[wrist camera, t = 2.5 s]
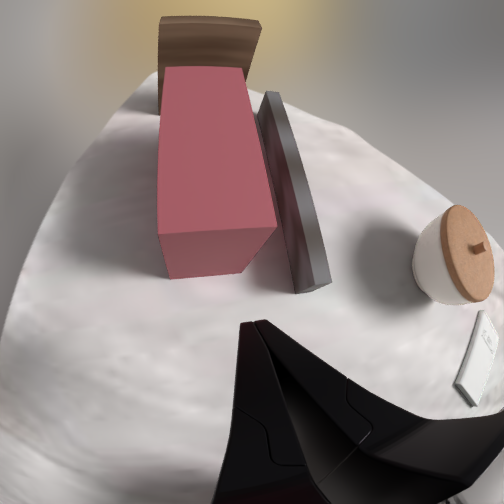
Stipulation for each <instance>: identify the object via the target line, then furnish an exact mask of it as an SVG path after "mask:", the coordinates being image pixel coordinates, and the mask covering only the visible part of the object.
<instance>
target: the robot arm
mask: <svg viewBox="0 0 504 504" xmlns="http://www.w3.org/2000/svg"><path fill="white" fill-rule="evenodd" d="M211 504H504V407H503V408H502V409H501V410H500V411H499V412H498V413H496V414H493V415H488V416H481V417H472V418H462V419H447V420H432V419H426V418H423V417H420V416H417V415H415V414H413V413H411V412H408V411H406V410H404V409H402V408H400V407H398V406H396V405H394V404H392V403H390V402H388V401H386V400H384V399H382V398H380V397H378V396H376V395H375V394H373V393H371V392H369V391H368V390H366V389H365V388H363V387H361V386H360V385H358V384H357V383H355V382H354V381H352V380H351V379H349V378H348V379H347V377H346V376H345V375H343V374H342V373H340V372H339V371H337V370H336V369H334V368H333V367H332V366H330V365H329V364H327V363H326V362H324V361H323V360H321V359H320V358H319V357H317V356H316V355H314V354H313V353H312V352H310V351H309V350H307V349H306V348H305V347H303V346H302V345H300V344H299V343H298V342H296V341H295V340H294V339H292V338H291V337H289V336H288V335H287V334H285V333H284V332H283V331H281V330H280V329H279V328H277V327H276V326H274V325H273V324H272V323H270V322H269V321H268V320H265V319H264V320H257V321H254V322H252V321H250V322H243V323H241V324H240V330H239V341H238V352H237V363H236V375H235V386H234V398H233V409H232V419H231V427H230V435H229V439H228V444H227V448H226V452H225V456H224V460H223V463H222V467H221V471H220V474H219V478H218V482H217V485H216V489H215V492H214V495H213V499H212V502H211Z"/></svg>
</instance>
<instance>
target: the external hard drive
mask: <svg viewBox="0 0 504 504" xmlns="http://www.w3.org/2000/svg"><path fill="white" fill-rule="evenodd" d="M498 341H499V335H498V333H497V332H496V330H495V328H494V326H493V324H492V322H491V321H490V319H489V317H488V315H487V314H486V312H485V311H484V310H480V311H479V315H478V318H477V322H476V325H475V329H474V332H473V336H472V339H471V342H470V345H469V348H468V351H467V354H466V356H465V359H464V362H463V364H462V367H461V370H460V372H459V375H458V377H457V380H456V382H455V385H456V386H457V387H458V388H459V389H460V391H461V392H462V393H463V394H464V396H465V397H466V398H467V399H468V401H469V402H470V403H471V405H472V406H478V403H479V401H480V398H481V395H482V393H483V390H484V387H485V385H486V382H487V379H488V376H489V373H490V370H491V366H492V363H493V360H494V356H495V352H496V348H497V345H498Z"/></svg>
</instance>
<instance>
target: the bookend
mask: <svg viewBox="0 0 504 504" xmlns="http://www.w3.org/2000/svg"><path fill="white" fill-rule="evenodd" d="M261 30H262V27H261V25H260V23H259V21H258V20H250V19H241V18H230V17H216V16H167V17H161V19H160V23H159V36H158V38H159V39H158V107H159V115H161V104H162V94H163V84H164V76H165V68H166V67H179V66H214V67H235V68H242V71H243V75H244V79H245V82H246V79H247V75H248V72H249V69H250V65H251V62H252V58H253V55H254V52H255V49H256V45H257V43H258V39H259V36H260V33H261ZM257 116H258V120H259V124H260V128H261V132H262V137H263V141H264V145H265V149H266V154H267V158H268V162H269V167H270V171H271V175H272V180H273V184H274V189H275V194H276V198H277V203H278V208H279V212H280V217H281V222H282V227H283V232H284V237H285V242H286V247H287V252H288V257H289V262H290V267H291V273H292V278H293V283H294V289H295V294H300V293H307V292H312V291H314V290H316V289H319V288H321V287H323V286H325V285H328V284H330V283H332V279H331V275H330V270H329V265H328V261H327V256H326V252H325V247H324V243H323V239H322V235H321V231H320V227H319V223H318V219H317V215H316V211H315V207H314V203H313V200H312V196H311V192H310V189H309V185H308V181H307V178H306V174H305V171H304V168H303V164H302V161H301V157H300V154H299V151H298V148H297V144H296V141H295V138H294V135H293V132H292V129H291V126H290V123H289V120H288V117H287V114H286V111H285V108H284V105H283V102H282V100H281V97H280V94H279V92H272V91H266V92H265V95H264V98H263V100H262V103H261V106H260V109H259V112H258V114H257Z"/></svg>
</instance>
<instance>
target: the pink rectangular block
mask: <svg viewBox="0 0 504 504" xmlns="http://www.w3.org/2000/svg"><path fill="white" fill-rule="evenodd" d="M157 218H158V236H159V240H160V244H161V248H162V252H163V256H164V260H165V263H166V267H167V270H168V274H169V277H170V279H181V278H193V277H204V276H215V275H226V274H236V273H242V271H243V270H244V269H245V268H246V266H247V265H248V264H249V262H250V261H251V260H252V259H253V257H254V256H255V255H256V254H257V252H258V251H259V250H260V248H261V247H262V246H263V245H264V243H265V242H266V241H267V239H268V238H269V237H270V236H271V234H272V233H273V232H274V230H275V229H276V228H277V227H278V226H277V221H276V216H275V211H274V207H273V202H272V197H271V192H270V187H269V183H268V178H267V173H266V169H265V164H264V160H263V155H262V151H261V146H260V142H259V137H258V133H257V129H256V124H255V120H254V116H253V112H252V107H251V103H250V99H249V95H248V91H247V87H246V83H245V79H244V75H243V71H242V68H235V67H214V66H179V67H166V68H165V76H164V84H163V94H162V104H161V115H160V129H159V147H158V177H157Z"/></svg>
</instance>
